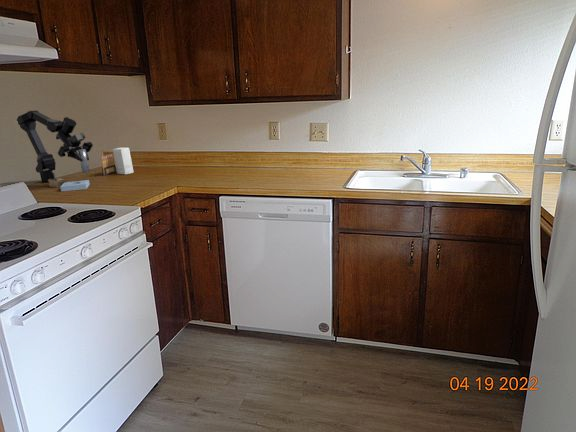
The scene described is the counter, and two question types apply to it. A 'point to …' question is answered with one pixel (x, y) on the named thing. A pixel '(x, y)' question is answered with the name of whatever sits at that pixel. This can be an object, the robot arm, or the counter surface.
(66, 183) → the holder
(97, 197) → the counter surface
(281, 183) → the counter surface
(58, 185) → the square bit
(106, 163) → the brown flat upright board
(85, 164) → the round bit
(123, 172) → the skincare box
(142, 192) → the counter surface
